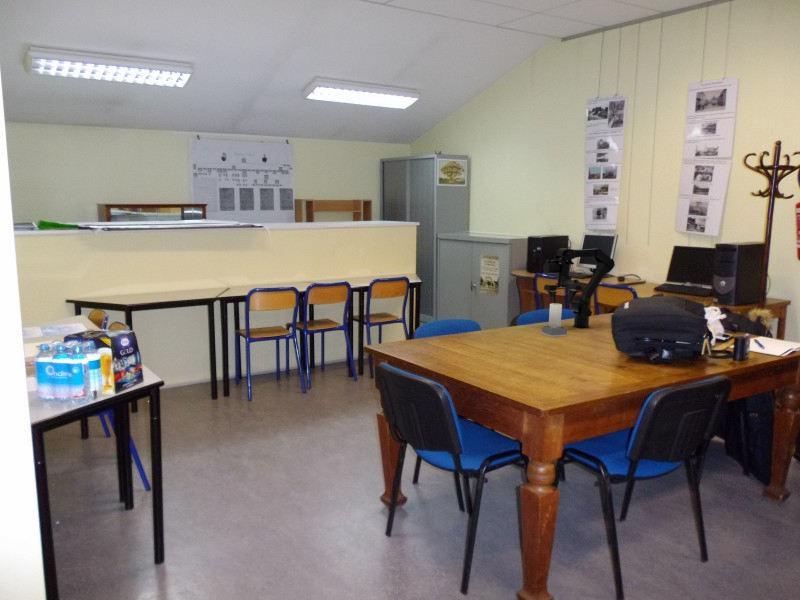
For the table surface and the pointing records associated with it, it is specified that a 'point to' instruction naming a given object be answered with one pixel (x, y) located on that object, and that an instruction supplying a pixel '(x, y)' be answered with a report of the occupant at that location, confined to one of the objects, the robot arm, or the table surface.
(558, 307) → the paper towel roll
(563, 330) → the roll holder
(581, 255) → the robot arm
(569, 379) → the table surface
